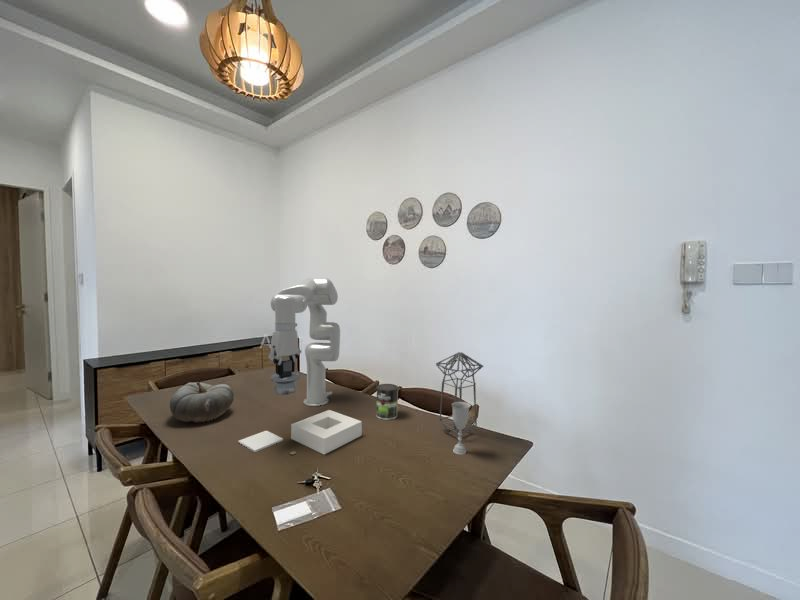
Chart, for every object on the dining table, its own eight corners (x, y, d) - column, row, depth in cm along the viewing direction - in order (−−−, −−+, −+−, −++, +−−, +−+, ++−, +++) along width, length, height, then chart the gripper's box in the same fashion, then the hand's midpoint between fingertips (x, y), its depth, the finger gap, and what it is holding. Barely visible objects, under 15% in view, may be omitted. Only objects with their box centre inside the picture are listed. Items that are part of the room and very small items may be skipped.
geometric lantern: (457, 444, 133) (460, 358, 132) (431, 430, 146) (433, 351, 144) (483, 434, 143) (486, 353, 141) (457, 422, 155) (459, 347, 153)
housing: (329, 422, 152) (329, 409, 151) (361, 435, 140) (361, 421, 139) (291, 438, 136) (291, 424, 135) (324, 454, 124) (324, 438, 123)
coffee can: (392, 421, 154) (393, 391, 154) (372, 417, 158) (372, 388, 158) (400, 413, 164) (401, 385, 163) (381, 410, 168) (382, 382, 167)
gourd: (177, 404, 163) (182, 370, 162) (233, 406, 172) (238, 374, 171) (160, 430, 140) (166, 391, 139) (225, 432, 149) (232, 395, 147)
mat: (266, 432, 141) (266, 430, 141) (283, 440, 134) (283, 438, 134) (238, 442, 131) (238, 440, 131) (254, 452, 124) (254, 450, 124)
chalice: (457, 457, 124) (458, 409, 123) (446, 449, 130) (447, 403, 129) (472, 453, 127) (474, 406, 126) (461, 445, 133) (463, 400, 132)
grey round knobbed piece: (288, 385, 141) (288, 356, 140) (305, 390, 135) (305, 360, 134) (264, 392, 132) (264, 360, 131) (281, 398, 126) (281, 365, 125)
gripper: (297, 324, 141) (296, 367, 142) (260, 328, 127) (260, 375, 128) (308, 326, 137) (308, 370, 138) (271, 330, 123) (271, 379, 124)
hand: (285, 372), depth 133 cm, fingers closed on grey round knobbed piece, 5 cm apart
